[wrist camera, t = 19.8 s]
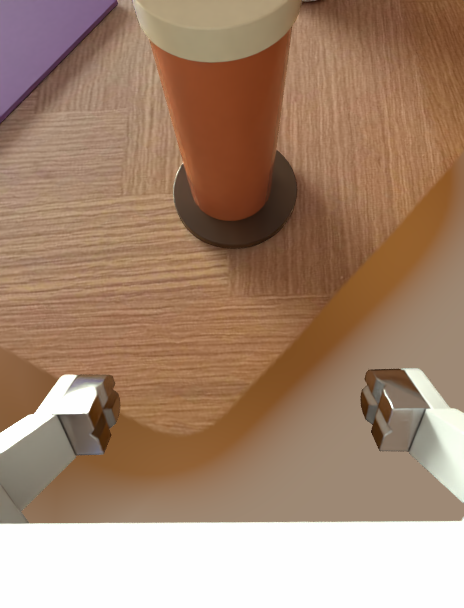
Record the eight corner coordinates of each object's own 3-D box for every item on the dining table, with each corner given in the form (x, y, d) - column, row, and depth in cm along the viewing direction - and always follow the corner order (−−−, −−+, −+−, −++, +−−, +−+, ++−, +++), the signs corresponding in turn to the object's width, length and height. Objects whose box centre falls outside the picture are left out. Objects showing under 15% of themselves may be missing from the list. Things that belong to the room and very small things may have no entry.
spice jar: (244, 239, 19) (242, 55, 9) (171, 197, 20) (87, -14, 10) (290, 172, 20) (340, -65, 10) (219, 136, 21) (192, -116, 11)
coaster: (253, 271, 19) (254, 268, 19) (151, 210, 21) (148, 205, 20) (317, 176, 21) (319, 170, 20) (218, 125, 22) (217, 118, 22)
